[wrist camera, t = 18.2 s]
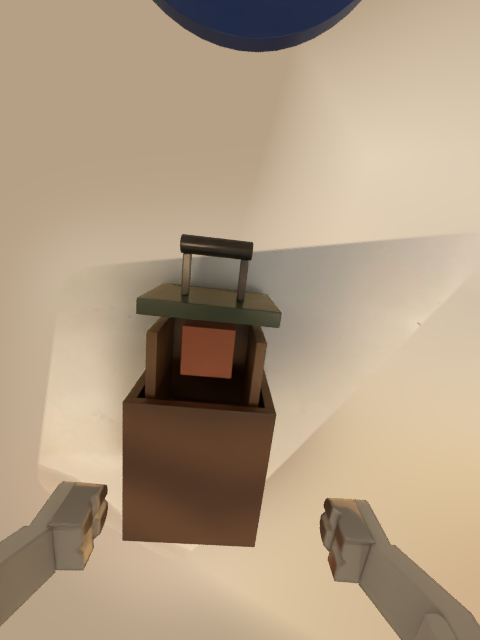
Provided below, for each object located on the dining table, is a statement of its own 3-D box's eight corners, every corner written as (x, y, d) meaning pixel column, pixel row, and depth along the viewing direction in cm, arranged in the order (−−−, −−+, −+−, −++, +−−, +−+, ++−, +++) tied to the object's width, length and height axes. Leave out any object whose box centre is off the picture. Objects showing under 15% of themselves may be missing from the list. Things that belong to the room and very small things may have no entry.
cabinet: (156, 353, 30) (122, 402, 20) (262, 363, 30) (276, 414, 21) (152, 458, 33) (122, 540, 24) (248, 464, 34) (254, 547, 24)
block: (190, 313, 26) (182, 325, 22) (235, 317, 27) (236, 330, 22) (187, 355, 28) (179, 374, 23) (231, 358, 28) (231, 378, 24)
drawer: (164, 233, 26) (137, 227, 18) (274, 246, 26) (292, 245, 19) (158, 396, 30) (133, 447, 22) (252, 404, 31) (259, 456, 23)
